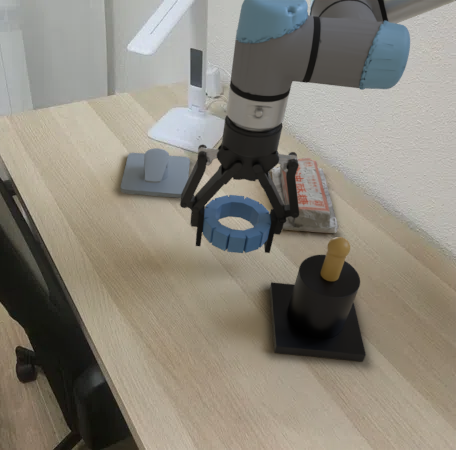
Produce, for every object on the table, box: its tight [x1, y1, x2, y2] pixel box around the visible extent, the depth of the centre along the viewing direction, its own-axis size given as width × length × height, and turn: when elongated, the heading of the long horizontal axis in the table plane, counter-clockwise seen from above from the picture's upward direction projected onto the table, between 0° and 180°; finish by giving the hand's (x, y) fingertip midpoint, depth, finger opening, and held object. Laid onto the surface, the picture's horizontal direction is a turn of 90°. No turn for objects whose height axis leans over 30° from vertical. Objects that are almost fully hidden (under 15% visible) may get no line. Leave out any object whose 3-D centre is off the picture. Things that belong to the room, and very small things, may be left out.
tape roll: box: [202, 194, 271, 254], centre depth 83 cm, size 10×10×3 cm
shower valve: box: [120, 147, 191, 199], centre depth 104 cm, size 12×6×15 cm
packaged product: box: [271, 157, 339, 234], centre depth 100 cm, size 18×5×10 cm
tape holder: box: [269, 236, 367, 362], centre depth 75 cm, size 12×12×16 cm
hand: (232, 243), depth 86 cm, fingers closed on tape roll, 10 cm apart
